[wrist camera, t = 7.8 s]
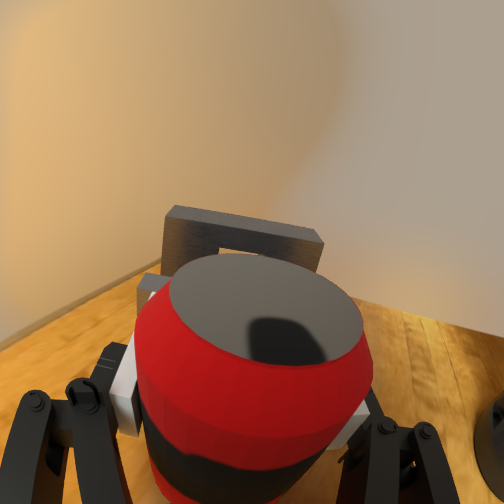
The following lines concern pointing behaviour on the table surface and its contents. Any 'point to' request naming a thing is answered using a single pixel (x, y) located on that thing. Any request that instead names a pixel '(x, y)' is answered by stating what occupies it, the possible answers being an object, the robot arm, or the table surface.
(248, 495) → the soda can
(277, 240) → the gauge bed
